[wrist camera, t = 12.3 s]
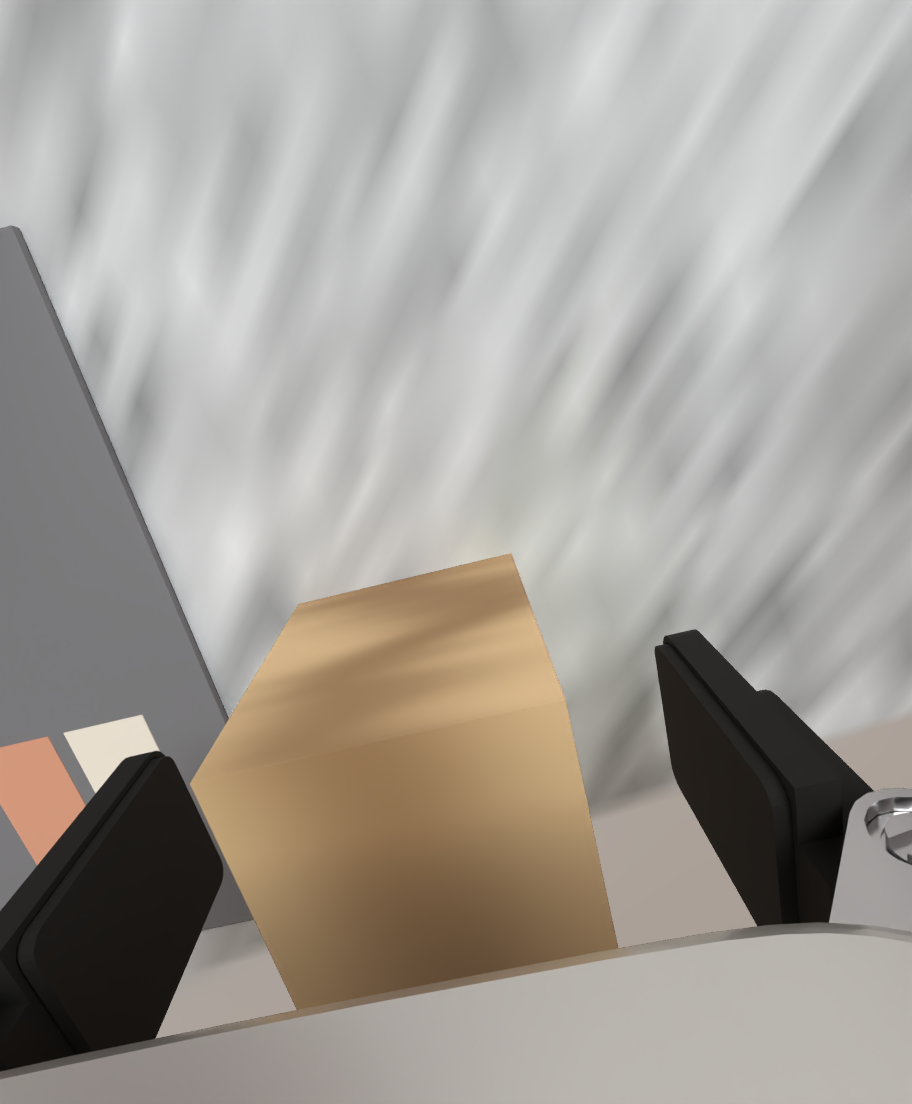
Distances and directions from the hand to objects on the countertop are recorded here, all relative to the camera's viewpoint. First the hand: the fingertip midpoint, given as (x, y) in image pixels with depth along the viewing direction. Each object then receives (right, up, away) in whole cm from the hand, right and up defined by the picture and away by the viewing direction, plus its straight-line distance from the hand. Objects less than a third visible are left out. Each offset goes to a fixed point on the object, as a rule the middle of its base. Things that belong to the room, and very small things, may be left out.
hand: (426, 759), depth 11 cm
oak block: (0, +1, +3) cm, 3 cm away
